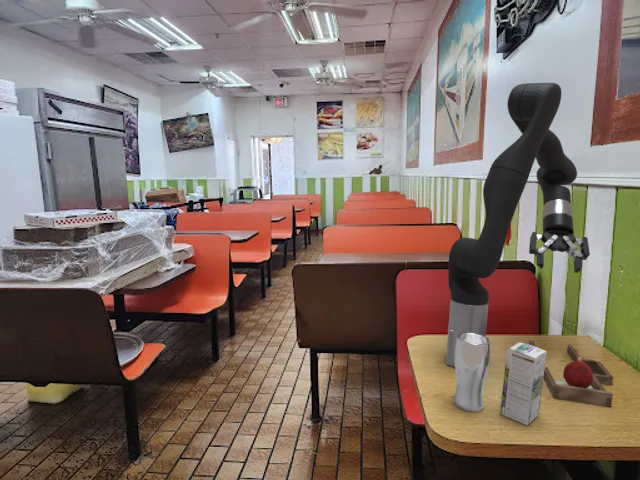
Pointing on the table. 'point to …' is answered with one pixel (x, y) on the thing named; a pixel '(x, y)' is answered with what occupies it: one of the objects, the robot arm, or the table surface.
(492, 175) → the robot arm
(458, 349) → the beer glass
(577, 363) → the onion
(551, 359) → the table surface
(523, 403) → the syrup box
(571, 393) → the zigzag wooden tray
